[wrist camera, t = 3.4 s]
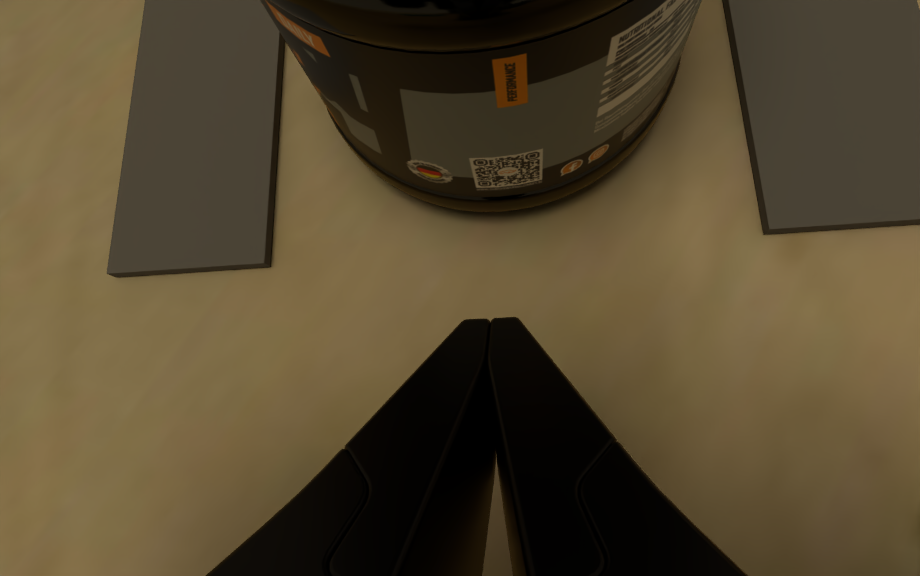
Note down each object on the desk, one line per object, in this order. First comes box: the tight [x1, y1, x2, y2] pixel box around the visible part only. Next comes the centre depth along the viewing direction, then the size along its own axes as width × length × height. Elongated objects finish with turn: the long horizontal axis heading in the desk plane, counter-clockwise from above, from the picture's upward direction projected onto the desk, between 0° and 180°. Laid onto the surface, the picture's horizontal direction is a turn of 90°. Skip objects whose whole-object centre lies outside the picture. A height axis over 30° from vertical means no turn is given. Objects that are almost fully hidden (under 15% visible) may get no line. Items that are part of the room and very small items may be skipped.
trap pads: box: [107, 0, 920, 277], centre depth 18 cm, size 11×24×1 cm, turn 92°
